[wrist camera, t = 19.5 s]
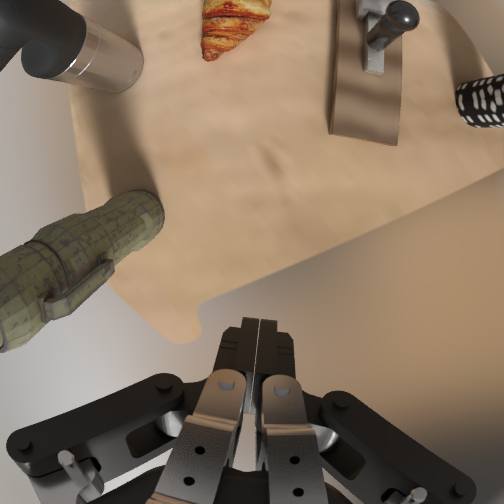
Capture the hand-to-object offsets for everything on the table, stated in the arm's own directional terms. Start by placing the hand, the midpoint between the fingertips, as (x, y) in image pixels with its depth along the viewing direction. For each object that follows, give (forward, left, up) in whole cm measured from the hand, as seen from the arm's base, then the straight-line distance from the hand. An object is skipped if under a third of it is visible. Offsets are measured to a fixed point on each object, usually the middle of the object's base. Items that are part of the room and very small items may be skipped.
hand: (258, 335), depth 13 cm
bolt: (-10, +28, -32) cm, 44 cm away
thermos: (-12, -18, -35) cm, 41 cm away
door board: (-8, +26, -35) cm, 44 cm away
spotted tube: (+8, +40, -35) cm, 54 cm away
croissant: (-27, +17, -35) cm, 47 cm away
